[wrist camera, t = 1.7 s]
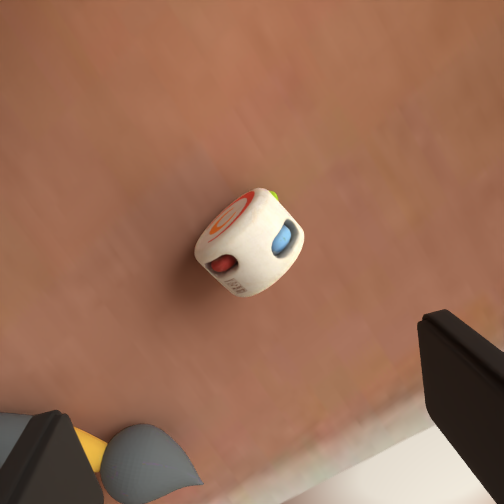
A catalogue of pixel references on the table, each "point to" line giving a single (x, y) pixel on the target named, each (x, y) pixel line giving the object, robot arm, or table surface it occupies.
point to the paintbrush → (123, 459)
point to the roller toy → (250, 243)
